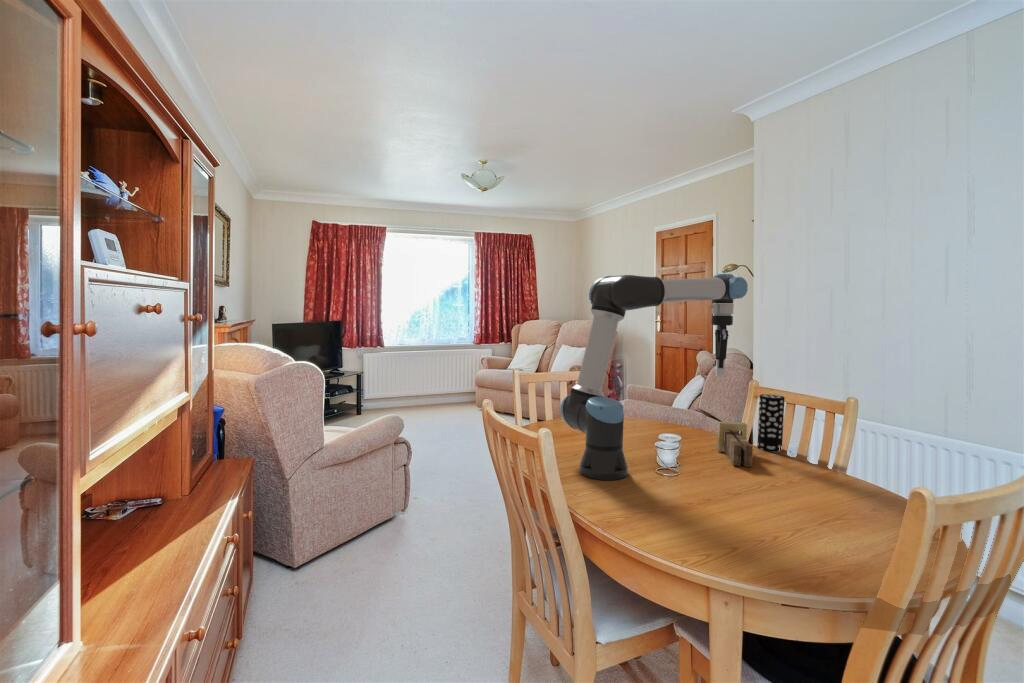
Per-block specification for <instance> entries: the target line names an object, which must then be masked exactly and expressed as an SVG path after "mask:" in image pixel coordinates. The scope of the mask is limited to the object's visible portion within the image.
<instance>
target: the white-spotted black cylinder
mask: <svg viewBox="0 0 1024 683" xmlns="http://www.w3.org/2000/svg"><path fill="white" fill-rule="evenodd" d="M758 398H759V400H758V401H759V403H758V422H757V424H758V425H757V446H756V447H757V449H758V450H759V451H763V452H769V453H780V452H783V451H782V450H783V449H782V450H781V446H782V447H783V438H784V437H783V435H784V433H783V432H784V415H785V413H784V412H785V399H786V398H785V396H783V395H778V394H770V393H769V394H767V393H766V394H759V397H758ZM779 447H780V451H779Z"/></svg>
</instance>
